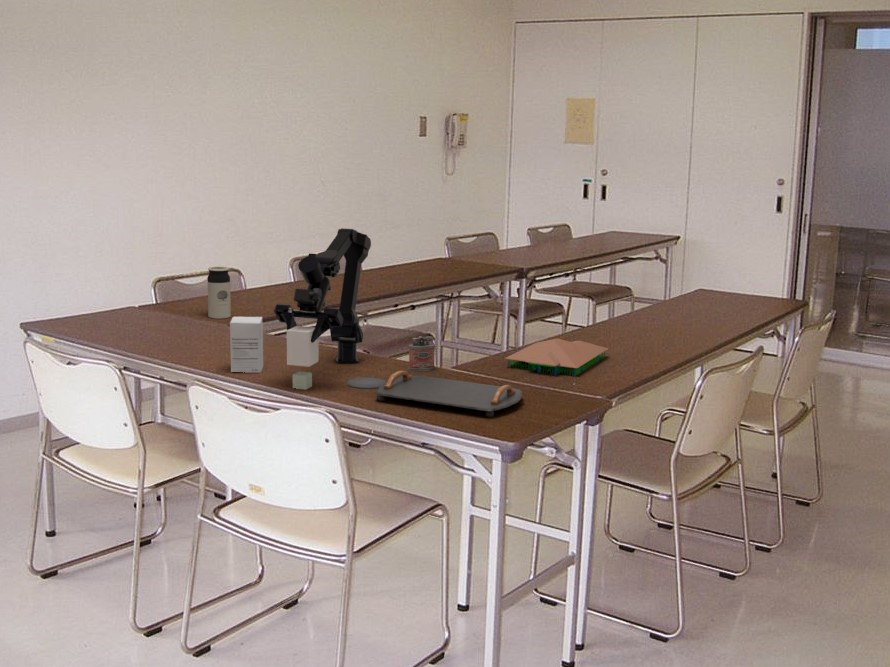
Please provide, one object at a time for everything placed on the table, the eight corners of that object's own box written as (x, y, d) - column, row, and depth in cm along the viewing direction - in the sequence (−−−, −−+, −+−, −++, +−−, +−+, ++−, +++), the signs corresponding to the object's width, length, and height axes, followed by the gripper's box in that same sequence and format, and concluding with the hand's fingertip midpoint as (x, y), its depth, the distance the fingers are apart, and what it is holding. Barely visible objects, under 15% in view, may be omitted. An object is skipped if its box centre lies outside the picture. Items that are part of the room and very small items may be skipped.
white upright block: (296, 359, 294) (296, 325, 292) (318, 361, 292) (318, 327, 290) (287, 364, 288) (286, 330, 286) (309, 366, 286) (308, 332, 284)
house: (500, 370, 316) (501, 344, 315) (540, 349, 345) (541, 325, 344) (573, 380, 307) (574, 353, 305) (607, 358, 336) (609, 333, 334)
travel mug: (207, 315, 387) (206, 266, 384) (229, 314, 390) (228, 266, 386) (209, 319, 380) (208, 270, 376) (231, 318, 382) (230, 269, 379)
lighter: (410, 371, 311) (410, 338, 309) (407, 368, 314) (407, 336, 312) (436, 370, 314) (436, 337, 311) (433, 367, 317) (433, 335, 315)
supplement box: (233, 365, 314) (232, 316, 311) (263, 365, 315) (263, 316, 311) (230, 373, 305) (228, 322, 302) (261, 373, 306) (260, 322, 303)
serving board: (364, 402, 280) (364, 379, 278) (404, 382, 300) (404, 361, 299) (500, 422, 264) (501, 398, 263) (532, 400, 285) (533, 378, 283)
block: (298, 385, 294) (298, 371, 293) (311, 386, 293) (311, 372, 292) (292, 388, 290) (292, 374, 289) (306, 390, 289) (306, 375, 288)
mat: (345, 379, 301) (345, 377, 301) (383, 378, 303) (383, 377, 303) (348, 389, 290) (348, 387, 290) (388, 388, 292) (388, 386, 292)
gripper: (276, 274, 291) (258, 321, 283) (339, 279, 286) (323, 326, 278) (288, 298, 300) (272, 344, 292) (349, 303, 295) (335, 349, 287)
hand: (300, 340), depth 287 cm, fingers closed on white upright block, 6 cm apart
